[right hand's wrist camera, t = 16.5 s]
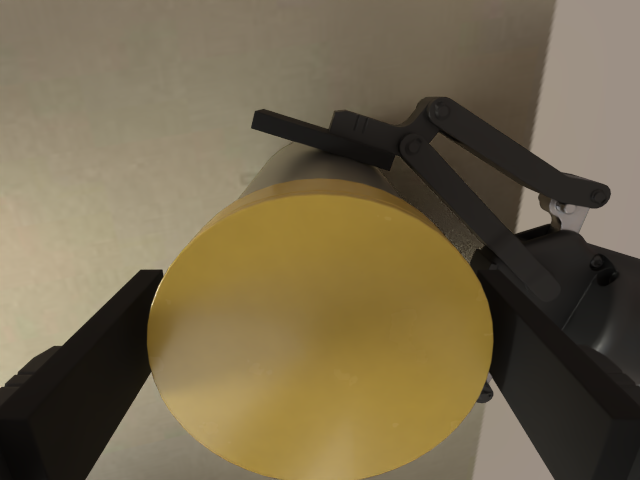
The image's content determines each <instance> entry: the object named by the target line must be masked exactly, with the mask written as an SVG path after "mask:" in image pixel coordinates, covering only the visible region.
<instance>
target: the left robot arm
mask: <svg viewBox="0 0 640 480" xmlns="http://www.w3.org/2000/svg"><path fill="white" fill-rule="evenodd" d="M251 128H252V129H255V130H259V131H262V132H265V133H268V134H272V135H275V136H278V137H281V138H285V139H288V140H291V141H294V142H297V143H301V144H304V145H307V146H310V147H314V148H317V149H320V150H323V151H327V152H330V153H333V154H336V155H339V156H343V157H346V158H349V159H353V160H356V161H359V162H362V163H365V164H369V165H372V166H375V167H378V168H381V169H385V170H388V171H390V168H391V166H392V163H393V160H394V157H395V155H397V156H400V157H401V158H402V159H403V160H404V161H405V162H406V163H407V164H408V165H409V166H410V168H411V169H412V170H413V171H414V172H415V173H416V174H417V175H418V176H419V177H420V178H421V179H422V180H423V181H424V182H425V183H426V184H427V185H428V186H429V187H430V188H431V189H432V191H433V192H434V193H435V194H436V195H437V196H438V197H439V198H440V199H441V200H442V201H443V202H444V203H445V204H446V205H447V206H448V207H449V208H450V209H451V210H452V211H453V213H454V214H455V215H456V216H457V217H458V218H459V219H460V220H461V221H462V222H463V223H464V224H465V225H466V226H467V227H468V228H469V230H470V231H471V232H472V233H473V234H474V235H475V236H476V237H477V238H478V239H479V240H480V241H481V242H482V243H483V244H484V245H485V246H484V247H483V248H482V249H481V250H480V249H476V251H475V253H474V255H473V257H472V259H471V262H470V266H471V268H472V269H473V271H474V273H475V275H476V276H477V270H500V271H501V272H502V273H503V274H504V275H505V276H506V277H507V278H508V279H509V280H510V281H511V282H512V283H514V284H515V285H516V286H517V287H518V288H519V289H520V290H521V291H522V292H523V293H524V294H525V295H526V296H527V297H528V298H529V299H530V300H531V301H532V302H533V303H534V304H535V305H536V306H537V307H538V308H539V309H540V310H541V311H542V312H543V313H544V314H545V315H546V316H548V317H549V318H550V319H551V320H552V321H553V322H554V323H555V324H556V325H557V326H558V327H559V328H560V329H561V330H562V331H563V332H564V333H565V334H566V335H567V336H568V337H569V338H570V339H571V340H572V341H573V342H574V343H575V344H576V345H588V346H589V347H591V348H593V349H595V350H596V351H598V352H600V353H602V354H603V355H605V356H607V357H608V358H609V359H610V360H611V361H612V362H613V363H615V364H616V365H617V366H618V367H619V368H620V369H621V370H622V372H623V374H627V375H628V376H629V377H630V378H631V379H632V380H633V381H634V382H635V384H636V386H640V259H638V258H635V257H631V256H628V255H625V254H622V253H618V252H615V251H612V250H608V249H605V248H602V247H598V246H595V245H592V244H589V243H587V242H586V241H585V240H584V238H583V237H582V236H581V235H580V234H578V233H579V231H580V229H581V227H582V224H583V222H584V220H585V218H586V215H587V213H588V211H589V209H590V208H599V207H602V206H603V205H605V204H606V203H607V202H608V200H609V199H610V195H611V192H610V189H609V187H608V186H607V185H604V184H601V183H598V182H595V181H592V180H588V179H585V178H582V177H579V176H576V175H573V174H568V173H563V172H560V171H558V170H557V169H555V168H554V167H552V166H551V165H549V164H548V163H546V162H545V161H543V160H542V159H540V158H539V157H537V156H536V155H534V154H533V153H531V152H530V151H528V150H527V149H525V148H524V147H522V146H521V145H519V144H518V143H516V142H515V141H513V140H512V139H510V138H509V137H507V136H506V135H504V134H503V133H501V132H500V131H498V130H497V129H495V128H494V127H492V126H491V125H489V124H488V123H486V122H485V121H483V120H482V119H480V118H479V117H477V116H476V115H474V114H473V113H471V112H470V111H468V110H467V109H465V108H464V107H462V106H461V105H459V104H458V103H456V102H455V101H453V100H452V99H450V98H447V97H425V98H423V99H421V100H420V102H419V103H418V104H417V107H416V110H415V111H414V112H413V113H412V115H411V116H410V117H409V118H408V119H407V120H406V121H405V122H404V123H402V124H399V125H391V124H388V123H385V122H382V121H378V120H375V119H372V118H369V117H366V116H363V115H360V114H357V113H354V112H351V111H347V110H338V111H334V113H333V117H332V120H331V123H330V127H329V129H326V128H322V127H319V126H316V125H313V124H310V123H307V122H303V121H300V120H297V119H294V118H291V117H288V116H284V115H281V114H278V113H275V112H272V111H269V110H265V109H261V110H257V111H255V113H254V118H253V122H252V126H251ZM438 132H439V133H441V134H443V135H444V136H446V137H447V138H449V139H450V140H452V141H453V142H455V143H457V144H458V145H460V146H461V147H463V148H464V149H466V150H467V151H469V152H471V153H472V154H474V155H475V156H477V157H478V158H480V159H482V160H483V161H485V162H486V163H488V164H489V165H491V166H492V167H494V168H496V169H497V170H499V171H500V172H502V173H503V174H505V175H506V176H508V177H510V178H511V179H513V180H514V181H516V182H517V183H519V184H521V185H523V186H524V187H526V188H529V189H531V190H533V191H535V192H538V193H540V194H539V196H538V199H539V201H540V206H541V208H542V209H543V210H545V211H547V212H549V213H550V215H551V217H552V221H551V224H546V225H543V226H540V227H536V228H533V229H530V230H526V231H523V232H520V233H517V234H513V233H512V232H511V231H509V230H508V229H507V228H506V227H505V226H504V225H503V224H502V223H501V221H500V220H499V219H498V218H497V217H496V216H495V215H494V214H493V213H492V212H491V211H490V209H489V208H488V207H487V206H486V205H485V204H484V203H483V202H482V201H481V200H480V199H479V198H478V196H477V195H476V194H475V193H474V192H473V191H472V190H471V189H470V188H469V187H468V186H467V184H466V183H465V182H464V181H463V180H462V179H461V178H460V177H459V176H458V175H457V174H456V172H455V171H454V170H453V169H452V168H451V167H450V166H449V165H448V164H447V163H446V162H445V160H444V159H443V158H442V157H441V156H440V155H439V154H438V153H437V152H436V151H435V150H434V149H433V147H432V146H431V145H430V144H429V143H430V141H431V140H432V139H433V138H434V137H435V135H436V134H437V133H438ZM491 379H492V376H491V375H490V373H488V376H487V380H486V382H485V384H484V387H483V389H482V391H481V394H480V396H479V398H478V399H477V401H476V402H478V403H486V402H488V401H489V400H491V399H492V397H493V391H492V389H491V387H490V386H489V384H488V383H489V382H490V380H491Z"/></svg>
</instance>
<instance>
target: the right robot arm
mask: <svg viewBox="0 0 640 480" xmlns="http://www.w3.org/2000/svg"><path fill="white" fill-rule="evenodd" d="M163 277H164V276H163V270H140V271H139V272H138V273H137V274H136V275H135V276H134V277H133V278H132V279H131V280H130V281H129V282H128V283H126V284H125V285H124V286H123V287H122V288H121V289H120V290H119V291H118V292H117V293H116V294H115V295H114V296H113V297H112V298H111V299H110V300H109V301H108V302H107V303H106V304H105V305H104V306H103V307H102V308H101V309H100V310H99V311H98V312H97V313H96V314H95V315H94V316H92V317H91V318H90V319H89V320H88V321H87V322H86V323H85V324H84V325H83V326H82V327H81V328H80V329H79V330H78V331H77V332H76V333H75V334H74V335H73V336H72V337H71V338H70V339H69V340H68V341H67V342H66V343H65V344H64V345H63V346H53V347H51V348H50V349H48V350H46V351H45V352H43V353H41V354H39V355H38V356H36V357H34V358H33V359H32V360H31V361H30V362H28V363H27V364H26V365H25V366H24V367H23V368H22V369H21V370H20V371H19V372H18V374H17V375H14V376H13V377H12V378H11V379H10V380H9V381H8V382H7V383H5V386H4V387H1V388H0V480H85V479H86V478H87V476H88V474H89V473H90V471H91V470H92V468H93V466H94V465H95V463H96V461H97V460H98V458H99V456H100V455H101V453H102V452H103V450H104V448H105V447H106V445H107V443H108V442H109V440H110V438H111V437H112V435H113V434H114V432H115V430H116V429H117V427H118V425H119V424H120V422H121V420H122V419H123V417H124V416H125V414H126V412H127V411H128V409H129V407H130V406H131V404H132V402H133V401H134V399H135V398H136V396H137V394H138V393H139V391H140V389H141V388H142V386H143V384H144V383H145V381H146V380H147V378H148V376H149V375H150V373H151V368H150V364H149V358H148V349H147V325H148V320H149V314H150V309H151V305H152V302H153V299H154V297H155V294H156V291H157V289H158V286H159V284H160V282H161V281H162V279H163ZM477 278H478V280H479V281H480V283H481V285H482V288H483V290H484V293H485V295H486V298H487V300H488V304H489V308H490V313H491V317H492V322H493V339H494V343H493V352H492V361H491V365H490V369H489V373H490V375H491V376H492V378H493V380H494V381H495V383H496V384H497V386H498V388H499V389H500V391H501V393H502V394H503V396H504V397H505V399H506V401H507V402H508V404H509V406H510V407H511V409H512V411H513V412H514V414H515V416H516V417H517V419H518V420H519V422H520V424H521V425H522V427H523V429H524V430H525V432H526V434H527V435H528V437H529V438H530V440H531V442H532V443H533V445H534V447H535V448H536V450H537V452H538V453H539V455H540V456H541V458H542V460H543V461H544V463H545V465H546V466H547V468H548V469H549V471H550V473H551V474H552V476H553V478H554V479H555V480H640V386H636V384H635V382H634V381H633V380H632V379H631V378H630V377H629V376H628V375H627V374H623V372H622V370H621V369H620V368H619V367H618V366H617V365H616V364H615V363H613V362H612V361H611V360H610V359H609V358H608V357H607V356H605V355H603V354H602V353H600V352H598V351H596V350H595V349H593V348H591V347H589V346H588V345H576V344H575V343H574V342H573V341H572V340H571V339H570V338H569V337H568V336H567V335H566V334H565V333H564V332H563V331H562V330H561V329H560V328H559V327H558V326H557V325H556V324H555V323H554V322H553V321H552V320H551V319H550V318H549V317H548V316H546V315H545V314H544V313H543V312H542V311H541V310H540V309H539V308H538V307H537V306H536V305H535V304H534V303H533V302H532V301H531V300H530V299H529V298H528V297H527V296H526V295H525V294H524V293H523V292H522V291H521V290H520V289H519V288H518V287H517V286H516V285H515V284H514V283H512V282H511V281H510V280H509V279H508V278H507V277H506V276H505V275H504V274H503V273H502V272H501V271H500V270H477Z"/></svg>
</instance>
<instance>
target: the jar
mask: <svg viewBox="0 0 640 480" xmlns="http://www.w3.org/2000/svg"><path fill="white" fill-rule="evenodd" d="M315 178H323V179H341V180H346V181H352V182H357V183H362V184H366V185H369V186H372V187H375V188H378V189H381V190H384V191H386V192H388V193H390V194H392V195H394V196H396V197H398V198H400V199H402V198H401V197H400V196H399V194H398V193H397V192H396V191H395V189H394V188H393V187H392V186H391V184H390V183H389V182H388V181H387V179H386V178H385V177H384V176H383V174H382V173H381V172H380V171H379V169H378V168H377V167H375V166H372V165H369V164H365V163H362V162H359V161H356V160H353V159H349V158H346V157H343V156H339V155H336V154H333V153H330V152H327V151H323V150H320V149H317V148H314V147H310V146H307V145H304V144H301V143H297V142H294V143H292V144H289V145H288V146H286V147H284V148H282V149H281V150H280V151H278V152H277V153H276V154H275V155H273V157H272V158H271V159H270V160H269V161H268V162H267V163H266V164H265V166H264V167H263V168H262V169H261V171H260V172H259V173H258V174H257V176H256V177H255V178H254V179H253V181H252V182H251V183H250V185H249V186H248V187H247V188H246V190H245V191H244V192H243V193H242V195H241V196H240V197H239V198H238V199H240V198H242V197H244V196H246V195H248V194H250V193H252V192H254V191H257V190H260V189H263V188H266V187H269V186H271V185H274V184H279V183H284V182H289V181H293V180H302V179H315ZM402 200H403V199H402Z"/></svg>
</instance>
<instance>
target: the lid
mask: <svg viewBox="0 0 640 480" xmlns="http://www.w3.org/2000/svg"><path fill="white" fill-rule="evenodd" d="M493 343H494V339H493V322H492V317H491V313H490V308H489V304H488V300H487V298H486V295H485V293H484V290H483V288H482V285H481V283H480V281H479V280H478V278H477V276H476V275H475V273H474V271H473V269H472V268H471V266H470V265H469V263H468V262H467V261H466V260H465V259H464V257H463V256H462V255H461V254H460V252H459V251H458V250H457V249H456V248H455V246H454V245H453V244H452V243H451V242H450V241H449V240H448V239H447V238H446V236H445V235H444V234H443V233H442V232H441V231H440V230H439V229H438V227H437V226H436V225H435V224H434V223H433V222H431V221H430V220H429V219H428V218H427V217H426V216H425V215H424V214H423V213H421V212H420V211H419V210H417V209H416V208H414V207H413V206H411V205H410V204H408V203H407V202H405V201H404V200H402V199H400V198H398V197H396V196H394V195H392V194H390V193H388V192H386V191H384V190H381V189H378V188H375V187H372V186H369V185H366V184H362V183H357V182H352V181H346V180H341V179H323V178H315V179H302V180H293V181H289V182H284V183H279V184H274V185H271V186H269V187H266V188H263V189H260V190H257V191H254V192H252V193H250V194H248V195H246V196H244V197H242V198H240V199H238V200H236V201H235V202H233V203H232V204H230V205H229V206H227V207H226V208H225V209H223V210H222V211H220V212H219V213H218V214H216V215H215V216H214V217H213V218H212V219H211V220H210V221H209V222H208V223H207V224H206V225H205V226H204V227H203V228H202V229H201V230H200V231H199V232H198V233H197V234H196V236H195V237H194V238H193V239H192V240H191V241H190V242H189V243H188V245H187V246H186V247H185V248H184V249H183V250H182V252H181V253H180V254H179V255H178V257H177V258H176V259H175V260H174V262H173V263H172V264H171V265H170V267H169V268H168V270H167V272H166V273H165V275H164V277H163V279H162V281H161V282H160V284H159V286H158V289H157V291H156V294H155V297H154V299H153V302H152V305H151V309H150V314H149V320H148V325H147V349H148V358H149V364H150V368H151V371H152V375H153V378H154V382H155V384H156V386H157V388H158V390H159V393H160V395H161V397H162V399H163V401H164V402H165V404H166V405H167V407H168V408H169V410H170V412H171V413H172V415H173V416H174V417H175V418H176V419H177V421H178V422H179V423H180V424H181V425H182V427H183V428H184V429H185V430H186V431H187V432H188V433H189V434H191V435H192V436H193V437H194V438H195V439H196V440H197V441H198V442H199V443H201V444H202V445H204V446H205V447H206V448H208V449H209V450H210V451H212V452H213V453H215V454H216V455H218V456H220V457H222V458H223V459H225V460H227V461H228V462H231V463H233V464H235V465H237V466H239V467H242V468H244V469H246V470H249V471H252V472H255V473H258V474H261V475H264V476H268V477H272V478H276V479H281V480H360V479H364V478H368V477H372V476H376V475H380V474H383V473H385V472H388V471H391V470H394V469H397V468H399V467H401V466H403V465H405V464H407V463H410V462H412V461H414V460H415V459H417V458H419V457H420V456H422V455H424V454H425V453H427V452H429V451H430V450H432V449H433V448H434V447H435V446H437V445H438V444H439V443H441V442H442V441H443V440H445V439H446V438H447V437H448V436H449V435H450V434H451V433H452V432H453V431H454V430H455V429H456V428H457V427H458V426H459V425H460V424H461V422H462V421H463V420H464V418H465V417H466V416H467V415H468V413H469V412H470V411H471V409H472V408H473V406H474V404H475V403H476V401H477V399H478V398H479V396H480V394H481V391H482V389H483V387H484V384H485V382H486V380H487V376H488V373H489V369H490V365H491V361H492V352H493Z"/></svg>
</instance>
